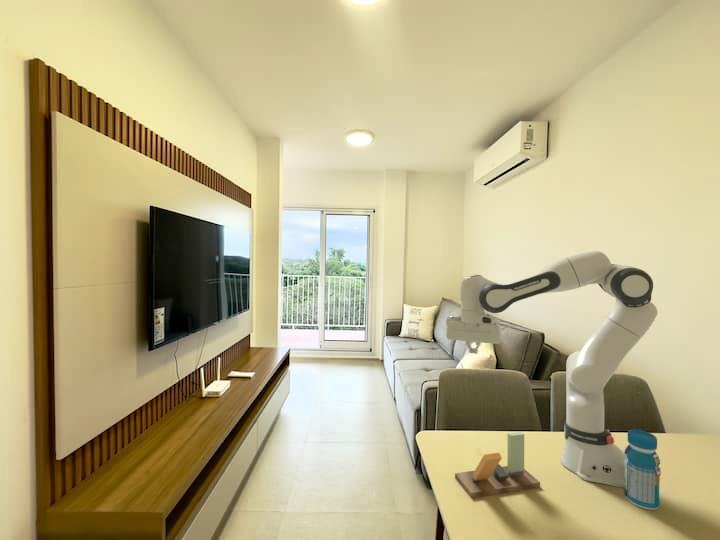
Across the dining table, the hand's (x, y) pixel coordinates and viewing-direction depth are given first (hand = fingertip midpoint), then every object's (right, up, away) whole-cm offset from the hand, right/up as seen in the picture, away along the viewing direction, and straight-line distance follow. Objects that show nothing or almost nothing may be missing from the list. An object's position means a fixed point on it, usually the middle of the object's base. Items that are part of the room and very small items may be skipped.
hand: (473, 353), depth 131 cm
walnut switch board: (0, -37, -21) cm, 42 cm away
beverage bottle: (+40, -37, -30) cm, 62 cm away
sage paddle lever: (+7, -34, -20) cm, 40 cm away
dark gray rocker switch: (+1, -35, -21) cm, 41 cm away
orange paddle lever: (-5, -34, -22) cm, 41 cm away
